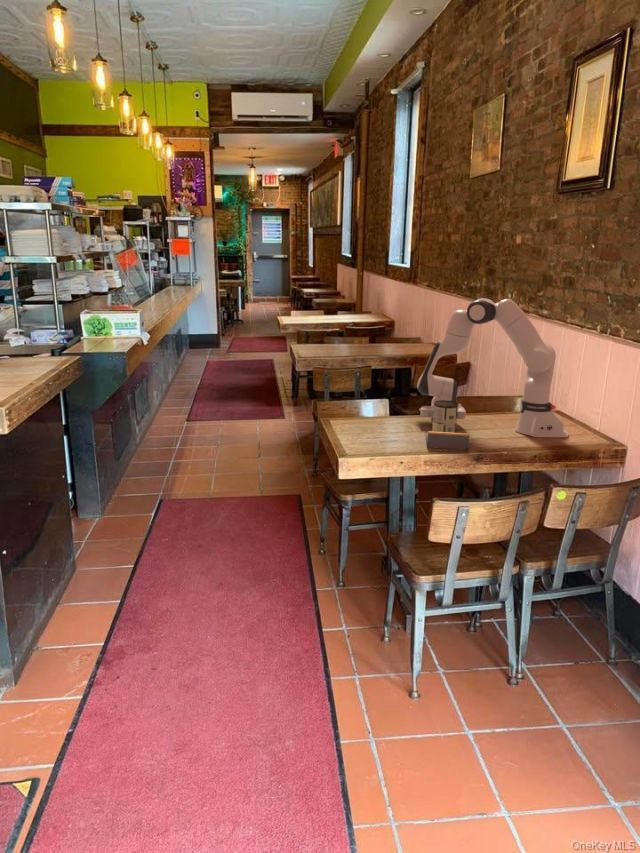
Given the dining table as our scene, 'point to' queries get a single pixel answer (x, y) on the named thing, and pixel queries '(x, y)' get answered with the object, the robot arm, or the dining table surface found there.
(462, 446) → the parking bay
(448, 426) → the coffee can
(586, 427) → the dining table surface
